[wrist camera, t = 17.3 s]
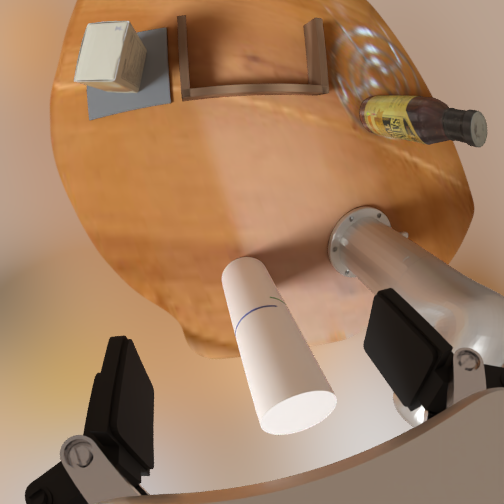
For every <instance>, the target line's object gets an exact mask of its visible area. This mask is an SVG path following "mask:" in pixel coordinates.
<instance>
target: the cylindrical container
mask: <svg viewBox="0 0 504 504" xmlns="http://www.w3.org/2000/svg"><path fill="white" fill-rule="evenodd" d="M222 284H223V288H224V293H225V297H226V301H227V305H228V309H229V313H230V317H231V321H232V324H233V328H234V332H235V336H236V340H237V344H238V347H239V351H240V355H241V358H242V362H243V366H244V369H245V373H246V377H247V381H248V384H249V388H250V391H251V395H252V398H253V402H254V405H255V409H256V412H257V415H258V419H259V422H260V425H261V428H262V429H263V430H264V431H265V432H267V433H270V434H276V435H285V434H291V433H296V432H300V431H303V430H305V429H308V428H310V427H312V426H314V425H316V424H318V423H319V422H321V421H322V420H324V419H325V418H326V417H327V416H328V415H329V414H330V413H331V412H332V411H333V409H334V408H335V406H336V404H337V398H336V396H335V394H334V392H333V390H332V388H331V386H330V385H329V383H328V381H327V379H326V377H325V375H324V374H323V372H322V370H321V368H320V366H319V365H318V362H317V361H316V359H315V357H314V355H313V354H312V351H311V350H310V348H309V346H308V344H307V342H306V340H305V339H304V337H303V335H302V333H301V331H300V329H299V328H298V326H297V324H296V322H295V320H294V318H293V317H292V315H291V313H290V311H289V309H288V307H287V306H286V304H285V302H284V300H283V298H282V296H281V295H280V293H279V291H278V289H277V287H276V285H275V284H274V282H273V280H272V278H271V276H270V274H269V273H268V271H267V269H266V267H265V266H264V264H263V263H262V262H261V261H260V260H258V259H256V258H252V257H241V258H238V259H236V260H234V261H232V262H231V263H229V264H228V265H227V266H226V268H225V269H224V271H223V274H222Z"/></svg>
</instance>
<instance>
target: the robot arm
mask: <svg viewBox="0 0 504 504" xmlns="http://www.w3.org/2000/svg"><path fill="white" fill-rule="evenodd" d="M328 255H329V259H330V262H331V264H332V266H333V267H334V268H335V269H336V270H337V271H338V272H339V273H340V274H342V275H344V276H346V277H357V278H358V279H359V280H360V281H361V282H362V283H363V284H364V285H365V286H366V287H367V288H368V289H369V290H370V291H371V292H372V293H373V294H374V295H375V296H374V300H373V305H372V309H371V314H370V319H369V323H368V327H367V332H366V336H365V340H364V349H365V352H366V353H367V354H368V356H369V357H370V359H371V360H372V361H373V363H374V364H375V366H376V367H377V368H378V370H379V371H380V373H381V374H382V375H383V377H384V378H385V380H386V381H387V383H388V384H389V385H390V387H391V388H392V390H393V391H394V393H393V400H394V405H395V407H396V409H397V411H398V413H399V414H400V415H401V416H402V418H403V419H404V420H405V421H407V422H408V423H409V424H410V425H411V426H413V427H414V428H412V429H410V430H409V431H407V432H405V433H403V434H401V435H399V436H397V437H395V438H393V439H391V440H389V441H386V442H384V443H382V444H380V445H378V446H376V447H373V448H371V449H369V450H366V451H364V452H362V453H359V454H357V455H354V456H352V457H349V458H346V459H344V460H341V461H338V462H335V463H333V464H330V465H327V466H324V467H321V468H317V469H314V470H311V471H308V472H304V473H301V474H297V475H293V476H289V477H286V478H281V479H277V480H273V481H269V482H264V483H259V484H254V485H249V486H242V487H236V488H230V489H222V490H213V491H205V492H195V493H181V494H159V495H150V494H149V493H148V492H147V491H146V490H145V489H144V488H143V487H142V486H141V485H140V483H141V476H149V475H150V469H153V468H154V450H153V417H154V415H153V414H154V389H153V386H152V383H151V381H150V379H149V377H148V375H147V373H146V371H145V369H144V366H143V364H142V362H141V360H140V357H139V355H138V353H137V351H136V348H135V346H134V343H133V341H132V340H131V339H127V337H126V336H115V337H110V339H109V342H108V346H107V350H106V354H105V357H104V361H103V366H102V370H101V373H97V374H96V376H95V379H94V384H93V388H92V393H91V397H90V402H89V407H88V412H87V417H86V423H85V428H84V434H83V435H76V436H73V437H70V438H68V439H67V440H66V441H65V442H64V444H63V445H62V447H61V450H60V459H61V462H59V463H58V464H57V465H55V466H54V467H52V468H51V469H50V470H49V471H47V472H46V473H44V474H43V475H42V476H40V477H39V478H38V479H36V480H35V481H33V482H32V483H31V484H30V485H29V486H28V487H27V489H26V492H25V500H26V503H27V504H504V297H503V296H502V295H501V294H499V293H497V292H495V291H493V290H491V289H489V288H487V287H485V286H483V285H481V284H479V283H477V282H475V281H474V280H472V279H470V278H468V277H466V276H465V275H463V274H461V273H460V272H458V271H457V270H455V269H454V268H452V267H451V266H449V265H447V264H446V263H444V262H443V261H442V260H440V259H439V258H437V257H436V256H434V255H433V254H431V253H430V252H428V251H427V250H425V249H424V248H422V247H420V246H419V245H417V244H416V243H414V242H413V241H411V240H410V239H408V233H407V232H406V231H404V232H400V233H399V232H397V231H396V230H394V229H393V228H391V224H390V222H389V220H388V218H387V216H386V215H385V214H384V213H383V212H381V211H380V210H378V209H376V208H373V207H368V206H365V207H359V208H356V209H353V210H352V211H350V212H348V213H347V214H346V215H344V216H343V217H342V218H341V219H340V220H339V222H338V223H337V224H336V226H335V227H334V229H333V231H332V233H331V236H330V239H329V244H328Z"/></svg>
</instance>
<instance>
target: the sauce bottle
mask: <svg viewBox="0 0 504 504" xmlns="http://www.w3.org/2000/svg"><path fill="white" fill-rule="evenodd" d="M359 114H360V115H359V116H360V120H361V122H362V124H363V126H364V127H365V128H366V129H367V130H368V131H370V132H372V133H375V134H377V135H381V136H387V137H393V138H398V139H404V140H409V141H414V142H419V143H423V144H428V145H430V144H433V143H438V142H443V141H448V140H452V141H455V140H456V141H460V142H464V143H467V144H468V145H470V146H474V147H481V146H483V144H484V143H485V141H486V137H487V124H486V120H485V118H484V116H483V115H482V113H481V112H479V111H475V110H467V111H465V110H457V109H454V108H449V107H448V106H447V105H446V104H445V103H443V102H441V101H440V100H438V99H436V98H432V97H421V96H392V95H390V96H374V97H369V98H367V99H365V100H364V101H363V103H362V104H361V106H360V111H359Z"/></svg>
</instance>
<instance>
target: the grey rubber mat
mask: <svg viewBox="0 0 504 504" xmlns="http://www.w3.org/2000/svg"><path fill="white" fill-rule="evenodd" d="M137 35H138V36H139V38H140V40H141V41H142V43H143V45H144V46H145V48H146V50H147V53H146V58H145V63H144V68H143V73H142V78H141V82H140V87H139V91H138V93H116V92H106V91H103V90H100V89H97V88H94V87H91V86H88V85H87V98H88V111H89V120H93V119H97V118H101V117H105V116H109V115H113V114H117V113H121V112H126V111H130V110H135V109H140V108H145V107H151V106H156V105H162V104H168V103H171V98H170V85H169V70H168V52H167V28H160V29H154V30H148V31H143V32H138V33H137Z"/></svg>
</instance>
